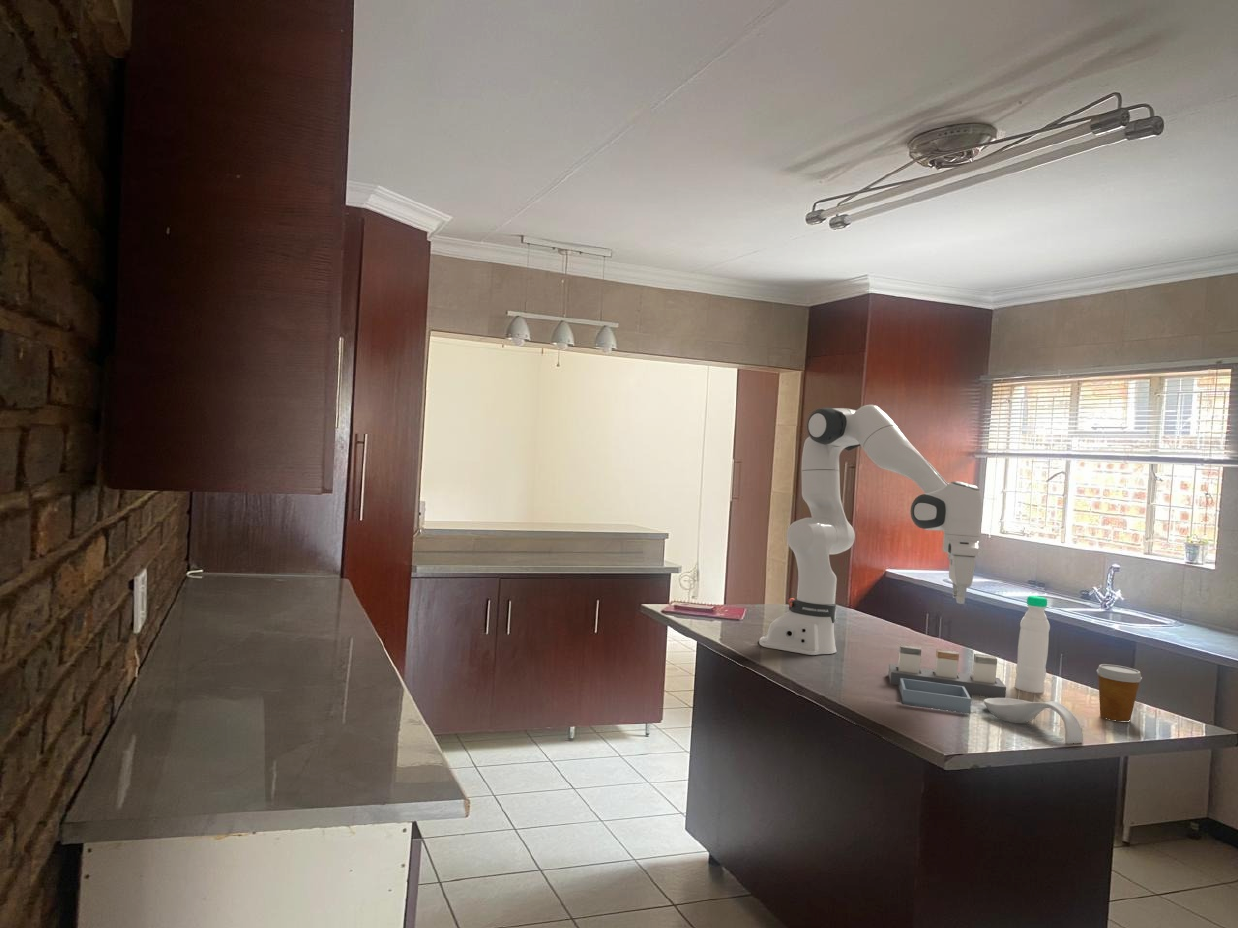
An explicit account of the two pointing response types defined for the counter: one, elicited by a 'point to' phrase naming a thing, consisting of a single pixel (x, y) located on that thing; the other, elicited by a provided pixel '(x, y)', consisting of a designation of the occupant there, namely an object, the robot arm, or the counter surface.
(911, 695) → the tray
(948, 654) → the orange cap fuse
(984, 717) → the counter surface
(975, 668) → the block
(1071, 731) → the spoon rest
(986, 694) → the fuse strip
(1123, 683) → the disposable coffee cup
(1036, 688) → the water bottle
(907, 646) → the block
